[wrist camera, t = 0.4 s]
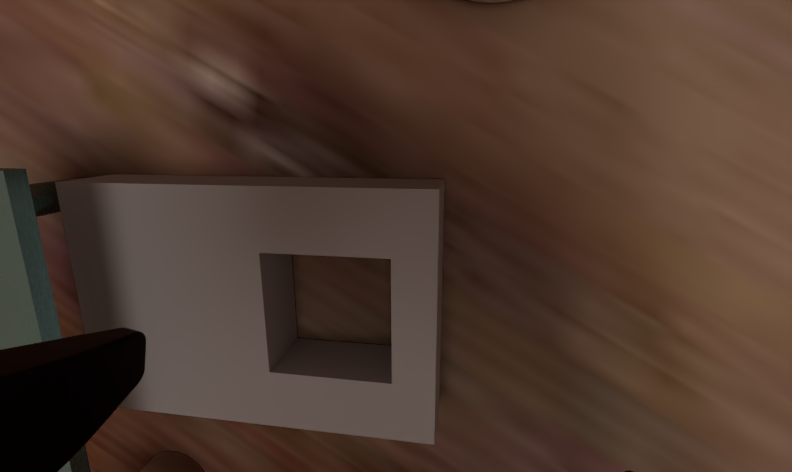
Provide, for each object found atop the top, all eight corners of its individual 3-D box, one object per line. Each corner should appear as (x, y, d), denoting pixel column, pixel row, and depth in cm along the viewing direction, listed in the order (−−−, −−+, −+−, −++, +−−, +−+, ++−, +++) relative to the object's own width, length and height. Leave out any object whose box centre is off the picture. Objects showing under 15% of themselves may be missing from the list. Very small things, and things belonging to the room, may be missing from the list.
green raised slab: (192, 389, 26) (77, 497, 18) (106, 380, 27) (-37, 479, 19) (160, 155, 23) (2, 170, 15) (63, 155, 24) (-131, 168, 16)
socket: (439, 399, 23) (434, 444, 20) (146, 370, 26) (99, 405, 23) (444, 179, 20) (439, 189, 17) (114, 174, 23) (54, 182, 20)
